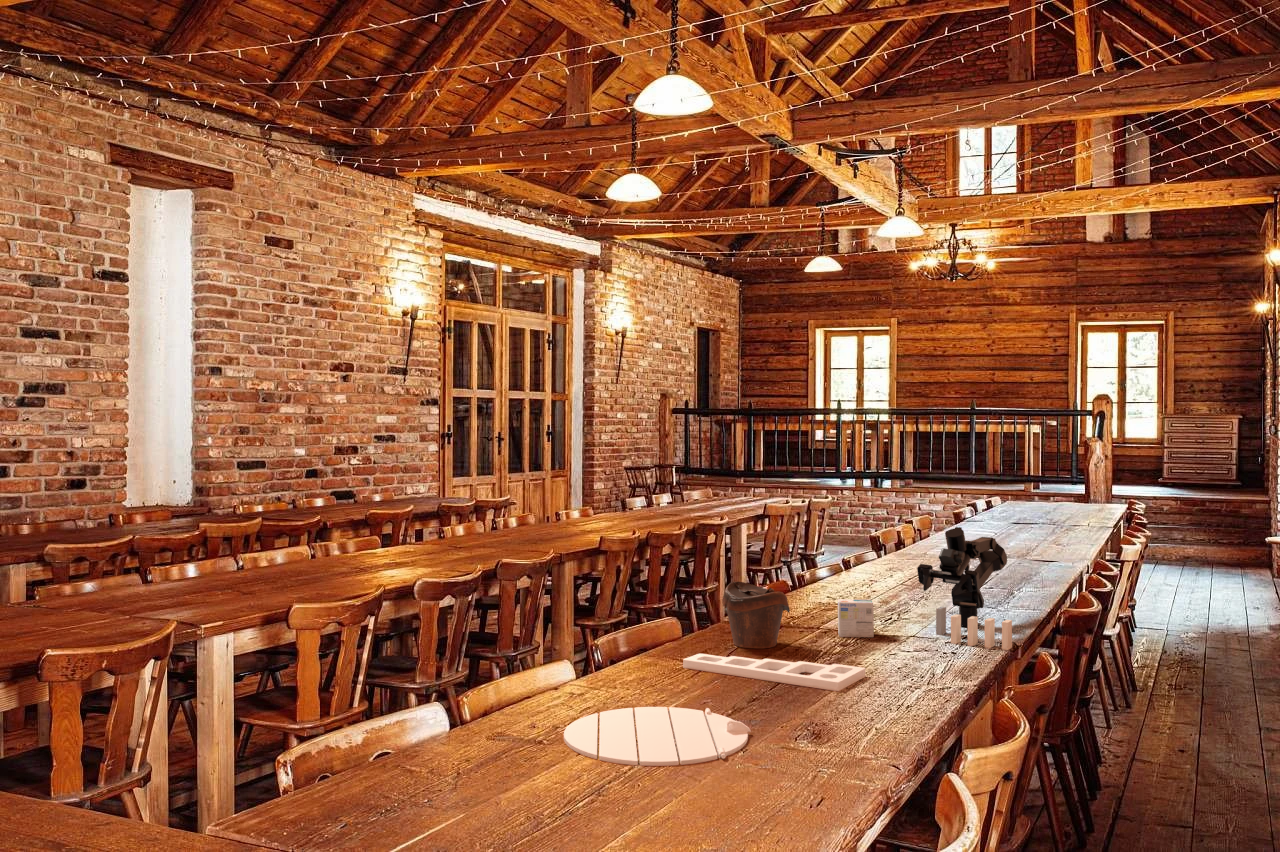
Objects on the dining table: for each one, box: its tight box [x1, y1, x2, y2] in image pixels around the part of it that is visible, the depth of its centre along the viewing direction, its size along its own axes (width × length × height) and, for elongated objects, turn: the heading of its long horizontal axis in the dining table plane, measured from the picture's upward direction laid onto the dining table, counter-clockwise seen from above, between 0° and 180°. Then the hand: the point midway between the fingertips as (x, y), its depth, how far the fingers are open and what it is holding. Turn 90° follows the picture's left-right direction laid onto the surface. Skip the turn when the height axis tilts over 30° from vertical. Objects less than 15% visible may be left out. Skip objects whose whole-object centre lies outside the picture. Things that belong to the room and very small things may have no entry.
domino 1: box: [935, 606, 947, 636], centre depth 334 cm, size 4×2×8 cm, turn 145°
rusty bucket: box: [721, 581, 791, 650], centre depth 319 cm, size 18×20×18 cm
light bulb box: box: [837, 598, 875, 638], centre depth 332 cm, size 11×7×11 cm, turn 84°
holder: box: [682, 653, 866, 692], centre depth 286 cm, size 45×18×3 cm, turn 56°
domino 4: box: [984, 617, 996, 649], centre depth 316 cm, size 4×2×8 cm, turn 145°
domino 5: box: [1001, 619, 1013, 651], centre depth 313 cm, size 4×2×8 cm, turn 145°
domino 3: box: [967, 616, 979, 647], centre depth 318 cm, size 4×2×8 cm, turn 145°
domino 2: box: [950, 613, 962, 645], centre depth 321 cm, size 4×2×8 cm, turn 145°
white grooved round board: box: [563, 706, 752, 767], centre depth 230 cm, size 40×39×3 cm
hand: (938, 591), depth 327 cm, fingers open, 9 cm apart
